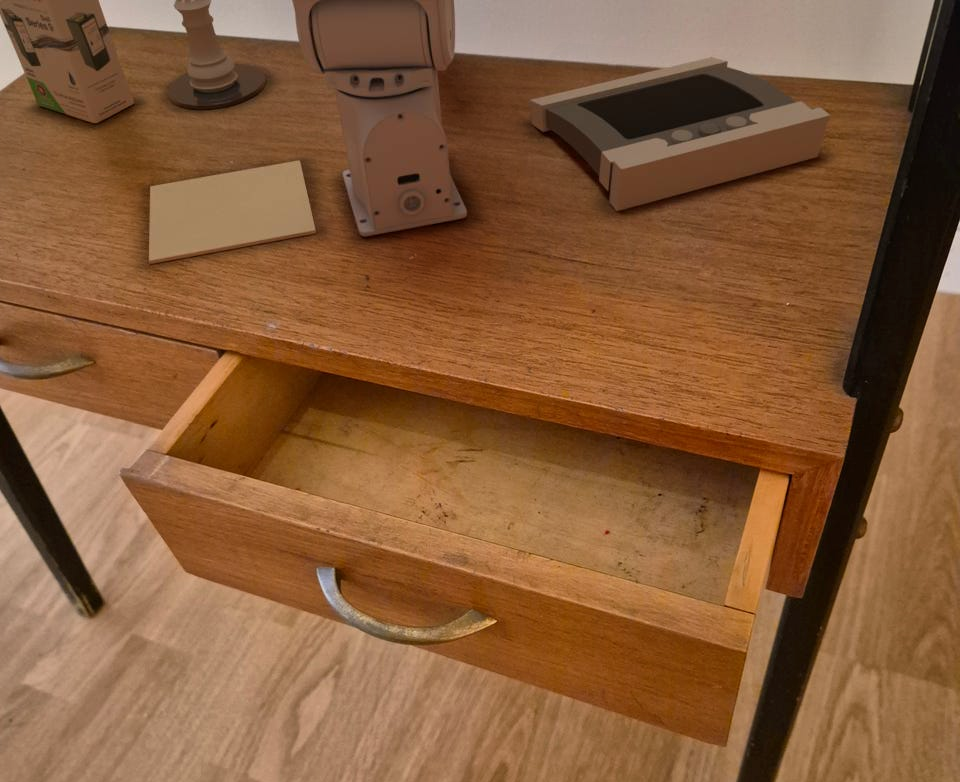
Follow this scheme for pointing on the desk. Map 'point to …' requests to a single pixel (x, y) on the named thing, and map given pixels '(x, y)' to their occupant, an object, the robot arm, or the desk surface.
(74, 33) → the ink box
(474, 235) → the desk surface
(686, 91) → the alarm clock
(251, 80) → the slate coaster
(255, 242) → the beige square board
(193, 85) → the rook chess piece
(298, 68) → the desk surface
